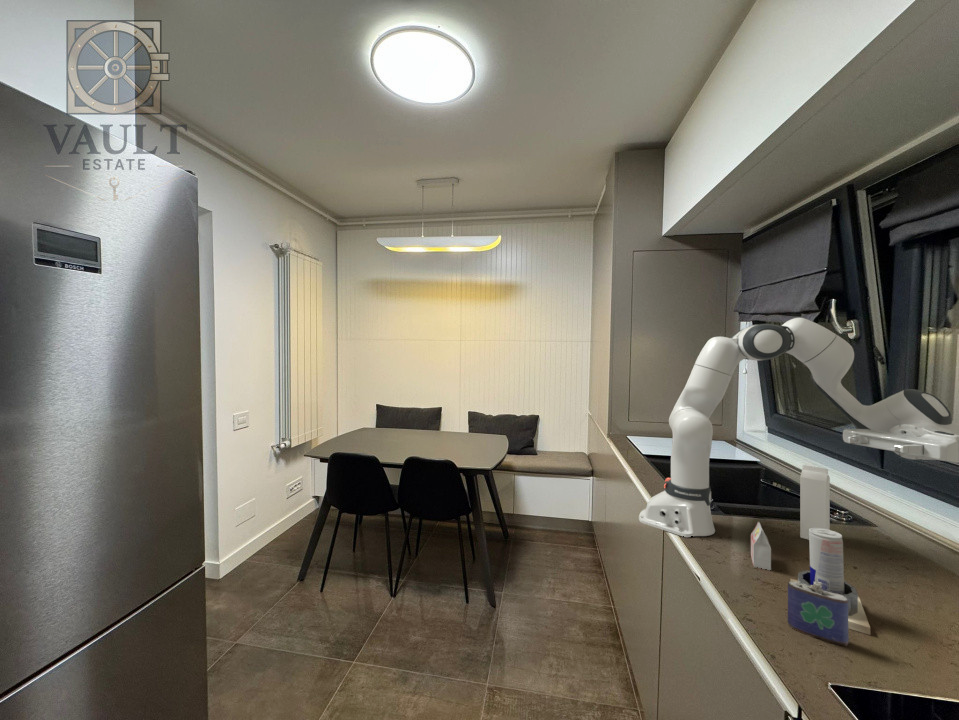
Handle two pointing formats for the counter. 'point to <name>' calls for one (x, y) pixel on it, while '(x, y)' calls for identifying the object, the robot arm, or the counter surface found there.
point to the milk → (814, 499)
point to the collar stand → (855, 608)
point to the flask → (818, 612)
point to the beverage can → (826, 559)
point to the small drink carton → (760, 548)
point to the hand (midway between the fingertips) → (873, 444)
